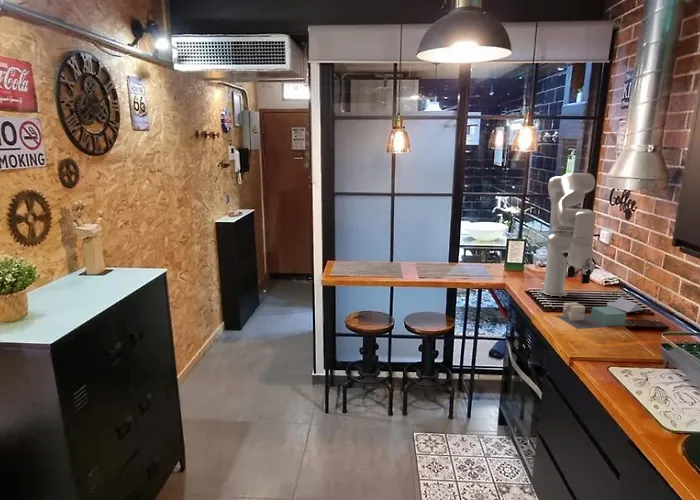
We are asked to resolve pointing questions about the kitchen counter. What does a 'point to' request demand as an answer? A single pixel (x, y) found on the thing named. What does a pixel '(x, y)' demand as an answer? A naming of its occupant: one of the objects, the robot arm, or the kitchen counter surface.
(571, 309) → the cream cube
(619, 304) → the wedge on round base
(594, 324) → the mat
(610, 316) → the plinth
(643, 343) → the kitchen counter surface
